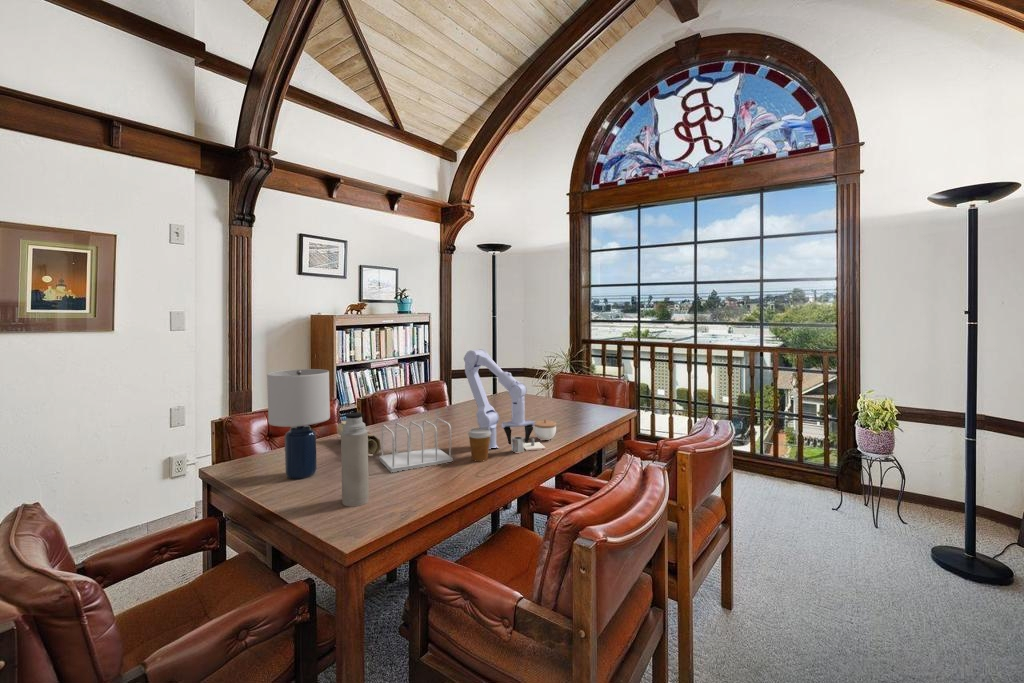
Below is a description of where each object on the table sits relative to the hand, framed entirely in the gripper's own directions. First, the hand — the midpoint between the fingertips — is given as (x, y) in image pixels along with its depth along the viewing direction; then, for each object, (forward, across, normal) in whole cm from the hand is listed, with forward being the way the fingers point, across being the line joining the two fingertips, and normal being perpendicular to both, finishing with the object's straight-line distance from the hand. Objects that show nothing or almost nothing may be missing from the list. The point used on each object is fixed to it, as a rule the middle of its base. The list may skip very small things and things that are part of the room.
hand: (518, 443), depth 194 cm
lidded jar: (+4, +18, +16) cm, 24 cm away
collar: (+4, 0, 0) cm, 4 cm away
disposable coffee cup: (+4, -18, -6) cm, 19 cm away
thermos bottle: (+4, -64, -37) cm, 74 cm away
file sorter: (+4, -43, -2) cm, 44 cm away
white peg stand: (+4, +8, +4) cm, 10 cm away
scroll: (+4, -68, +25) cm, 72 cm away
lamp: (+4, -85, -7) cm, 85 cm away
